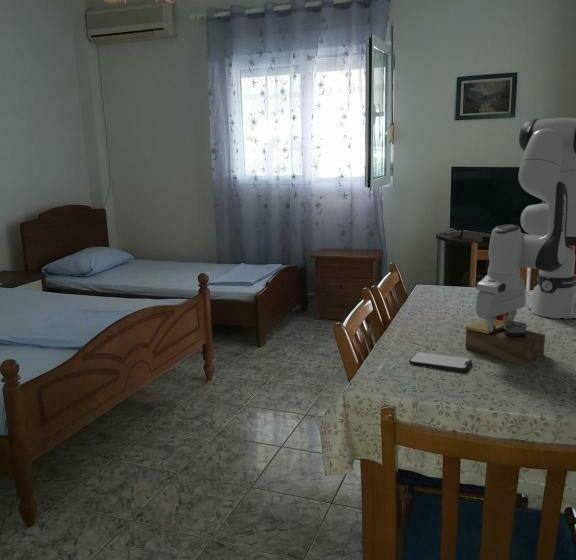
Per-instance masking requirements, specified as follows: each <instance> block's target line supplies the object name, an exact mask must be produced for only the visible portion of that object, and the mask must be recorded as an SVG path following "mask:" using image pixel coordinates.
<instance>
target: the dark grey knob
mask: <svg viewBox="0 0 576 560" xmlns="http://www.w3.org/2000/svg"><path fill="white" fill-rule="evenodd" d="M526 330H527V324H526V323H524V322H522V321H515V320H514V321H510V322H505V323H504V335H505V336H508V337H513V338H522V337H525V336H526Z"/></svg>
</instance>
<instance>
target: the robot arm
mask: <svg viewBox="0 0 576 560" xmlns="http://www.w3.org/2000/svg"><path fill="white" fill-rule="evenodd" d="M518 140H519V141H518V142H519V147H520V148H521V150H523V151H524V152H523V155H522V159H521V163H520V165H519V170H518V182H519V184H520V187H521V188H522V189H523V190H524V191H525V192H526V193H528V194H529V195H531V196H533V197H535V198H538V199H539V200H542V201H544V202H545V203H537V204H530V205H527V206H526V207H525V208H524V209H523V210H522V212H521V214H520V225H521V227H520V226H519V225H517V224H511V223H510V224H509V223H508V224H501V225H497V226H495V227H494V228H493V229H492V230H491V235H490V238H489V246H488V260H489V265H488V268H487V274H486V275H485V276H484V277H483V278H482V279H481V280H480V281H478V282H477V283H476V291H478V293H477V294H476V300H475V301H476V302H475V303H476V304H475V311H476V312H475V314H476V316H477V318H481V319H483V320H485V321H486V323H487V330H488V331H491V332H492V331H494V330H495V327H496V325H494V323H493V320H494V317H496V316H499V315H502V314H505V313H508V312H509V314H508V318H506V322H510V321H515V318H516V316H517V313H518V310H519V309H522V308H524V307H525V305H526V301H527V300H526V298H527V297H526V296H527V294H526V286H525V285H524V280H523V279H522V278H521V268H528V269H535V270H538V272H539V273H537V277H536V280H537V281H536V283H537V285H536V286H534V287H533V290H532V298H531V302H530V303H531V304H528V306H527V309H528V308H529V309H528V310H530V309H531V310H530V311H531V313H532V314H534V315H536V316H539V317H544V318H548V317H549V318H550V319H560V318H564V319H572V318H576V274H575V263H576V254H575V253H574V251H573V250H572V249H571V248H569V247H568V246H567V237H575V238H576V118H573V117H557V118H556V117H555V118H554V117H553V118H552V117H551V118H544V119H539V118H535V119H530V120H527V121H526V122H525V123H523V125H522V126H521V128H520V131H519V135H518ZM521 228H522V229H523V230H524V232H525V233H523V232H522V231H521ZM520 267H521V268H520ZM549 318H548V319H549Z"/></svg>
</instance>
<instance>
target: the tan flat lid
mask: <svg viewBox="0 0 576 560" xmlns="http://www.w3.org/2000/svg"><path fill="white" fill-rule="evenodd" d="M505 322H506V321H500V320H495V319H494V320H493V323H494V325H496V327H495V330H494V331H492V332H495V331H498V330H500V329H503V328H504V323H505ZM464 329H465V330H466V329H468V330H473V331H478V332H483V333H488V334H490V333H492V332H491V331H488V330H487V323H486V321H485V319H483V320H480V321H478V322H474V323H472V324H469V325H466V326H465V327H464Z"/></svg>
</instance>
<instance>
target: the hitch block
mask: <svg viewBox="0 0 576 560" xmlns="http://www.w3.org/2000/svg"><path fill="white" fill-rule="evenodd" d="M465 331H466V332H465V349H467V350H470V351H472V352H473V351H474V352H476V353H480V354H483V355H487V356H489V357H493V358H497V359H500V360H503V361H505V362H506V361H507V362H509V363H514V364H516V365H524V364H526V363H529V362H531V361H533V360H535V359H538V358H539V357H542V356H543V355H544V354H545V343H546V334H543V333H538V332H534V331H530V330H527V329H526V336H525V337H522V338H513V337H508V336H505V335H504V328H503V329H500V330H498V331H495V332H492V333H490V334H488V333H483V332H478V331H473V330H468V329H465Z"/></svg>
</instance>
